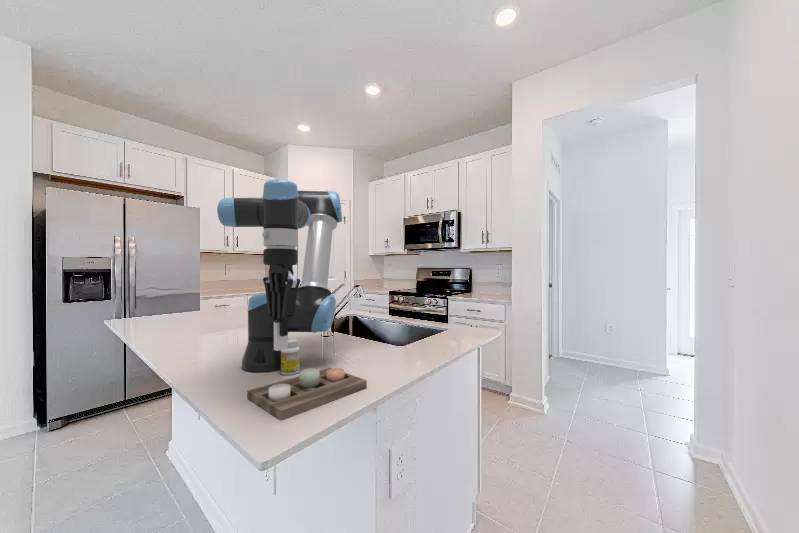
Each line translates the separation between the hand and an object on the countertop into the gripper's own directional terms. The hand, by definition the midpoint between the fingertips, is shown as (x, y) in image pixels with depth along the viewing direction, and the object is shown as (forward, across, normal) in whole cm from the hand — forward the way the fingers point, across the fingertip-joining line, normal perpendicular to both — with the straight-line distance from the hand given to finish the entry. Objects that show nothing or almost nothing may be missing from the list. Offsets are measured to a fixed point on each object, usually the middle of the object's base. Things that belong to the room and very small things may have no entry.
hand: (280, 349), depth 76 cm
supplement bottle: (+13, -18, +12) cm, 25 cm away
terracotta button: (+12, 0, +16) cm, 20 cm away
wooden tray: (+13, 0, +8) cm, 15 cm away
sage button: (+10, 0, +8) cm, 13 cm away
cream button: (+12, 0, 0) cm, 12 cm away
